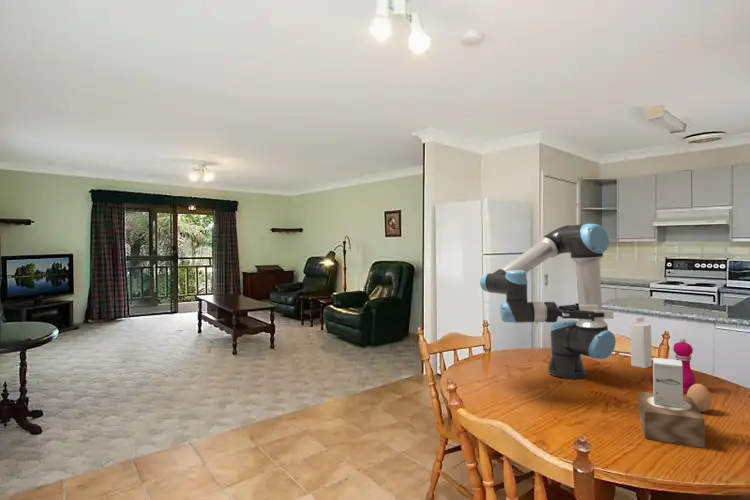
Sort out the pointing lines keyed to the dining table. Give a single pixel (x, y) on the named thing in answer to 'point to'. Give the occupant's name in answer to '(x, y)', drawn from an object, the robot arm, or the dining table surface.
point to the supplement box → (668, 382)
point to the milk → (641, 344)
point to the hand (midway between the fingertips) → (605, 311)
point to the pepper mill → (685, 363)
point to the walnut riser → (672, 421)
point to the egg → (700, 397)
